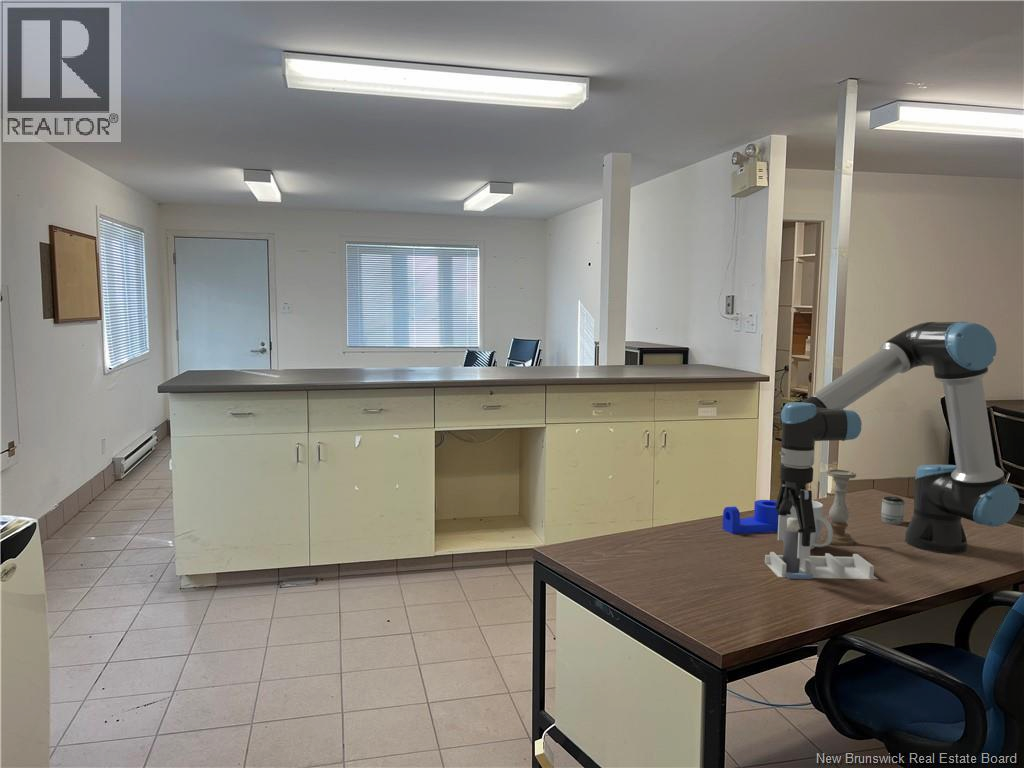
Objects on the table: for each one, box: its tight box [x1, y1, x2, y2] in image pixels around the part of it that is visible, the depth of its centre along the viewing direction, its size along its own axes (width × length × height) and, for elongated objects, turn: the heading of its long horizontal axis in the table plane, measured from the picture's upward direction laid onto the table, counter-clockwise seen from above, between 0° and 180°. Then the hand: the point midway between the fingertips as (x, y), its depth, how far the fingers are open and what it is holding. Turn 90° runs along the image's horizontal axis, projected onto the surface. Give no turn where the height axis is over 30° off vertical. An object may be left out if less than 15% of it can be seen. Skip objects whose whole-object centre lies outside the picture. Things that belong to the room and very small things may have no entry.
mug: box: [789, 499, 833, 550], centre depth 191 cm, size 15×11×13 cm
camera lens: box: [880, 496, 906, 526], centre depth 219 cm, size 6×6×8 cm
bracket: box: [722, 499, 779, 535], centre depth 211 cm, size 20×9×8 cm, turn 108°
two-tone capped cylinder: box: [782, 518, 800, 573], centre depth 173 cm, size 4×4×13 cm
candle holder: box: [820, 469, 857, 547], centre depth 198 cm, size 9×9×20 cm
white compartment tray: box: [764, 551, 879, 580], centre depth 172 cm, size 24×11×4 cm, turn 88°
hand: (792, 549), depth 173 cm, fingers open, 13 cm apart
